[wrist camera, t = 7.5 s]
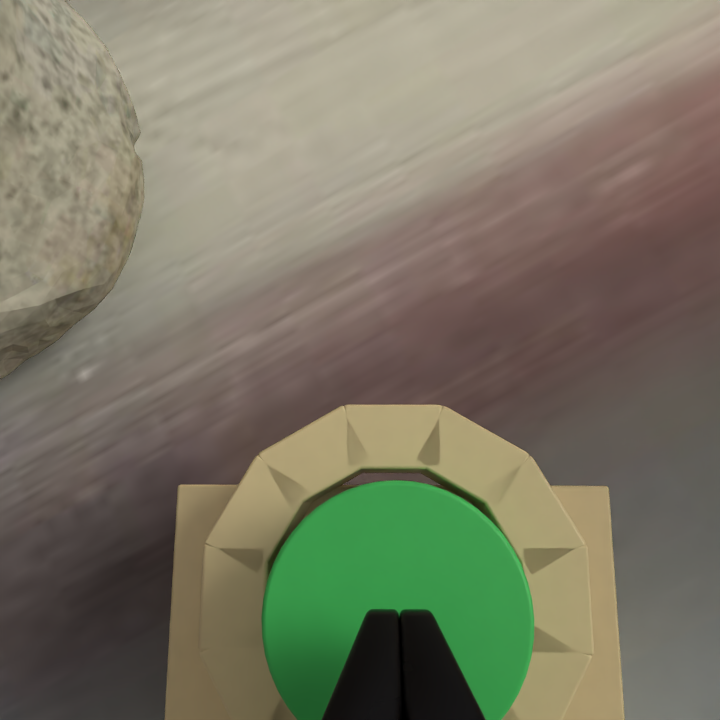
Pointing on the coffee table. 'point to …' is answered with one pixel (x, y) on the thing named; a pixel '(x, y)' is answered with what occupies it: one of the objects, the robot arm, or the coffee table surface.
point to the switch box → (344, 462)
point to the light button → (396, 591)
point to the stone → (60, 175)
